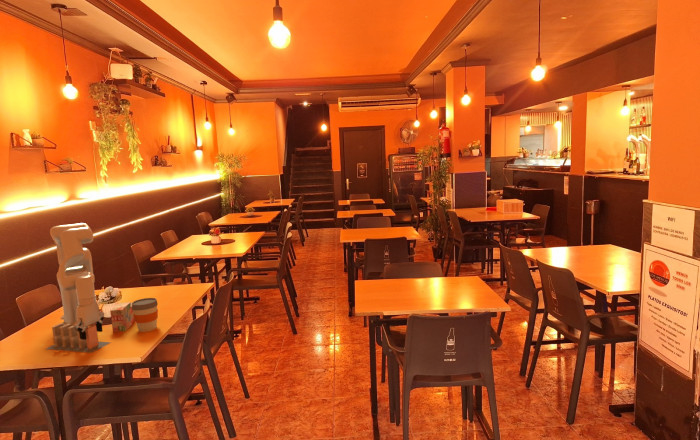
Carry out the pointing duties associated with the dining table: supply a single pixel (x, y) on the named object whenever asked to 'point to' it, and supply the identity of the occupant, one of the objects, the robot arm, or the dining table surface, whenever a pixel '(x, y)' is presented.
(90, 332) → the terracotta domino
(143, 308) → the reusable coffee cup
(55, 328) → the cream domino
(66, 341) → the cream domino
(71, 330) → the cream domino
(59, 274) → the robot arm
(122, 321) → the stack of blocks
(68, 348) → the slate mat
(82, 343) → the cream domino
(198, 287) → the dining table surface
